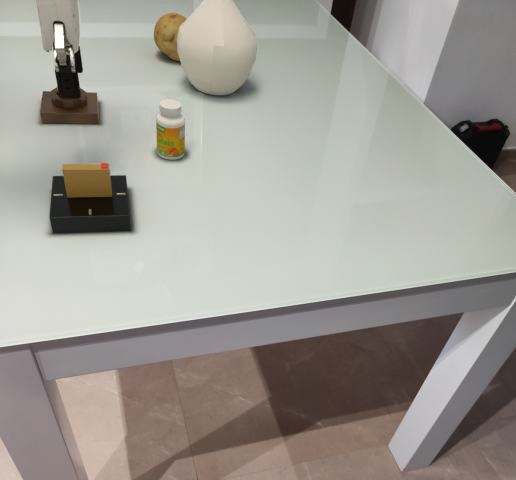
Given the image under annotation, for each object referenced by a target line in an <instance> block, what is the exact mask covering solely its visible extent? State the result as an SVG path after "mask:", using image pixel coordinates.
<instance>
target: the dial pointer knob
mask: <svg viewBox="0 0 516 480" xmlns="http://www.w3.org/2000/svg"><path fill="white" fill-rule="evenodd" d="M61 166H62V167H61V171H62V176H63V177H64V182H65V188H66V193H67V197H68V198H76V197H112V186H111V177H110V175H111V169H110V164H109V163H108V162H100V163H63V164H62V165H61Z"/></svg>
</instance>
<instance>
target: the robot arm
mask: <svg viewBox="0 0 516 480" xmlns="http://www.w3.org/2000/svg"><path fill="white" fill-rule="evenodd" d="M35 1H36V2H35V3H36V8H37V16H38V20H39V27H40V35H41V40H42V42H41V43H42V49H43V51H44V52H46V53H50V51H51V52H52V51H53V59H54V60H53V61H54V75H55V80H56V88H57V87H58V92H59V96H60V98H76V99H79V98H81V92H80V88H81V86H80V80H79V74H82V73H83V71H84V69H83V60H82V53H81V46H80V36H81V33H80V32H81V30H80V29H81V28H80V12H79V3H78V0H35Z"/></svg>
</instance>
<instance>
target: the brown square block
mask: <svg viewBox="0 0 516 480" xmlns="http://www.w3.org/2000/svg"><path fill="white" fill-rule="evenodd" d="M80 92H81V98H79V99H76V98H60V97H59V96H58V90H57V87H55V88H52V89H51V90H47V91H46V90H42V95H41V103H40V110H39V115H40V120H41V123H42V124H55V125H56V124H59V125H60V124H63V125H64V124H67V125H100V117H99V116H100V115H99V114H100V113H99V98H98V97H99V96H98V92H94V91H93V92H87V91H86V90H84V89H83V88H81V87H80Z"/></svg>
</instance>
